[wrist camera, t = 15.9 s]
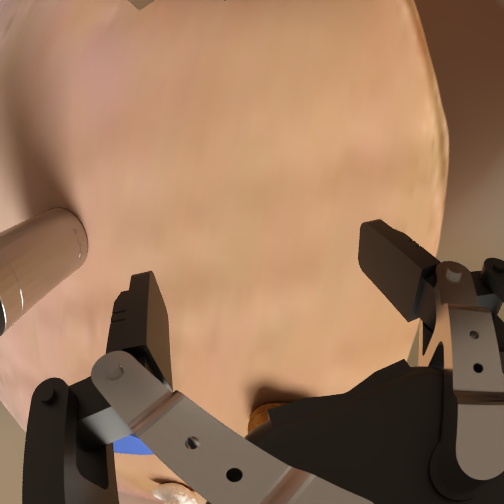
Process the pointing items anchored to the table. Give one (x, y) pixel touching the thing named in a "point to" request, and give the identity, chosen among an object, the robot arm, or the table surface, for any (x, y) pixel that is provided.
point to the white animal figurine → (174, 494)
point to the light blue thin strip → (131, 446)
